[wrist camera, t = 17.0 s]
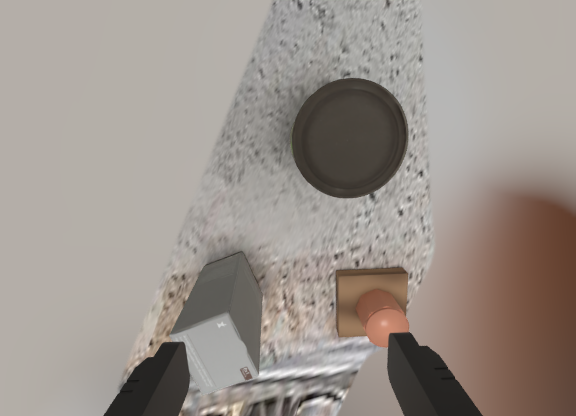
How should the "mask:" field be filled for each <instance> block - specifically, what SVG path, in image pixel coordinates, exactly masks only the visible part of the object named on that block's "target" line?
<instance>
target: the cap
mask: <svg viewBox="0 0 576 416" xmlns="http://www.w3.org/2000/svg"><path fill="white" fill-rule="evenodd" d="M355 309H356V311H357V314H358V316H359V318H360V321H361V323H362V326H363V328H364V330H365V332H366V334H367V336H368V338H369V340H370V342H372V343H373V344H375V345H377V346H379V347H388V338H389V334H390V333H399V332H409V323H408V320H407V318H406V317H405V314H404V312H403V310H402V309H401V308H400V306H399V305H398V303H397V302H396V300H395V299H394V297H393V296H392V295H391V293H388V292H385V291H382V290H378V289H374V290H372V291H370V292H367V293H365V294H363V295H361V297H360V299H359V302H358V304H357V306H356V308H355Z"/></svg>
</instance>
